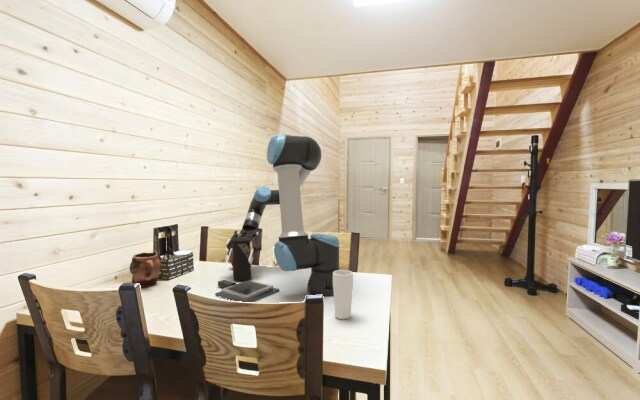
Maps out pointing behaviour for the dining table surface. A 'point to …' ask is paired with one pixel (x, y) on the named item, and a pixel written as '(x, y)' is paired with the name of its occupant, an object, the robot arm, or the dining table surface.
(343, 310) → the drinking glass
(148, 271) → the decorative planter
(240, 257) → the container
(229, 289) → the base
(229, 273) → the dining table surface
